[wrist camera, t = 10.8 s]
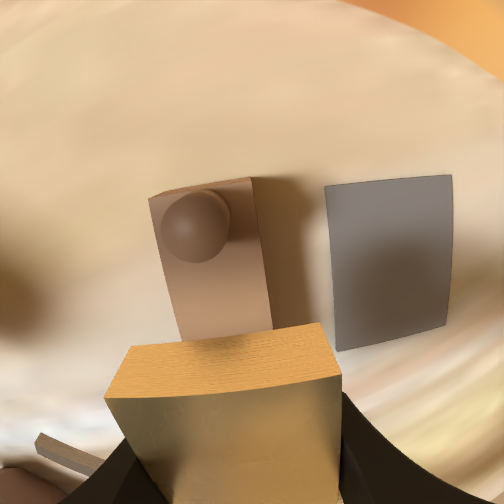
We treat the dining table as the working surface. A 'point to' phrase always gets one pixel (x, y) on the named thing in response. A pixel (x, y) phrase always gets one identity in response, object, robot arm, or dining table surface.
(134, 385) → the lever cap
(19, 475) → the brown round pot
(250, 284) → the body
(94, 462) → the lever
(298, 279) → the dining table surface
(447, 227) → the mat
